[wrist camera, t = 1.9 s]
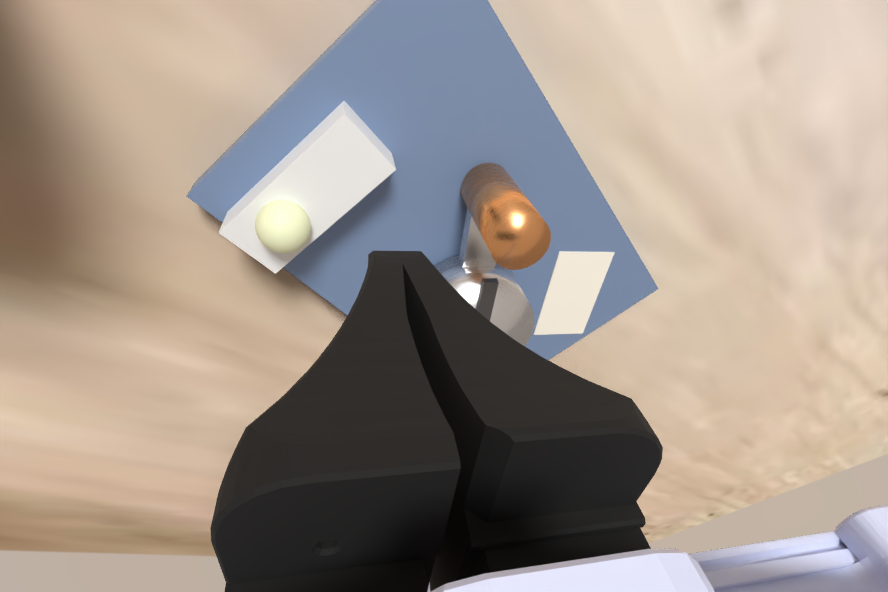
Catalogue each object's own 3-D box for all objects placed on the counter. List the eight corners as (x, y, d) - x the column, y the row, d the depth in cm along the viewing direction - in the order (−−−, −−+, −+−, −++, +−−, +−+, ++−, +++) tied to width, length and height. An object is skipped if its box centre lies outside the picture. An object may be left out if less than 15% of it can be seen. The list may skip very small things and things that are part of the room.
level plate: (645, 275, 24) (692, 325, 21) (468, 393, 27) (485, 451, 24) (441, -66, 14) (471, -70, 11) (194, 182, 17) (161, 236, 14)
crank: (505, 337, 23) (534, 405, 20) (407, 341, 22) (420, 413, 19) (550, 166, 18) (601, 217, 14) (425, 159, 17) (448, 212, 13)
